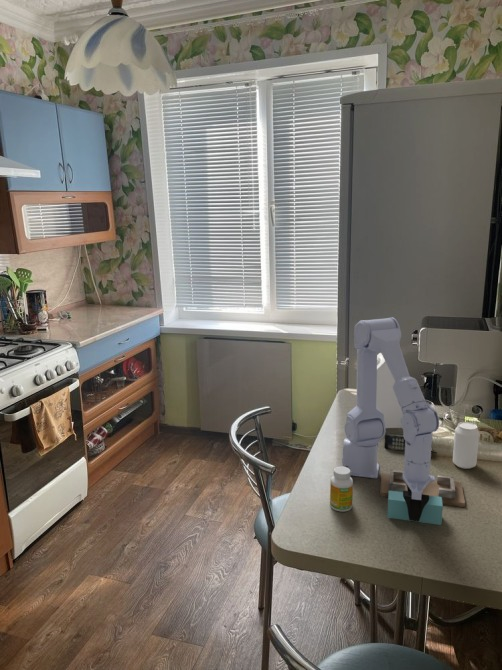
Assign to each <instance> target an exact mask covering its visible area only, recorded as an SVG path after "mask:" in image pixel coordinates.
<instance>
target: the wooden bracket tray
mask: <svg viewBox="0 0 502 670" xmlns="http://www.w3.org/2000/svg"><path fill="white" fill-rule="evenodd" d="M389 471H390V473H387V472H386V473H385V472H382V473H381V479H380V480H381V481H380V491H379V492H380V493H379V496H380V497H386V498H387V497H388V494H389V490H390V491H398V492H403V490H404V491H408V490H407V484H406V482H405V481H404V479H403V477H402V475H403V472H404V470H397V469H396V470H395V469H390V470H389ZM462 485H463V483H462V482H461V481H455V480H454V476H448V475H445V476H444V475H439V474H438V475H437V479H436V478H435V481H434V482H429V483H428V485H427V486H426V487H425V489H424V490H423V491H422V494H423V495H430V496H438V497H442V504H443V505H448V506H455V507H463V508H464V507H466V501H465V496H464V491H463V486H462Z"/></svg>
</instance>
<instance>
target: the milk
mask: <svg viewBox="0 0 502 670" xmlns="http://www.w3.org/2000/svg"><path fill="white" fill-rule="evenodd" d="M394 383H395V379H394V377H393V375H392V373H391V371H390V369H389V367H388V365H387V363H386V361H385V359H384V357H383V355H382V353H379V352H378V353H377V391H376V408H377V409H379V410H380V411H381V412H382V413H383V414H384V422H385V425H386V429H403V428H402V425H401V418H402V416H403V413H402V410H401V408H400V405H399V403H398V400H397V397H396V395H395V392H394V390H393V386H394Z"/></svg>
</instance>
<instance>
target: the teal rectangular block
mask: <svg viewBox="0 0 502 670" xmlns="http://www.w3.org/2000/svg"><path fill="white" fill-rule="evenodd" d="M443 505H444V504H442V497H438V496H430V495H429V501H428V503H427V504H426V505H425V507H424V508H423V511H422V514H421V517H420V520H419V521H416V523H417V522H419V523H424V524H426V523H427V524H432V525H438V526H442V523H443V522H442V520H443V508H444V507H443ZM386 517H387V518H388V519H395V520H396V519H397V520H402V521H403V520H404V521H411V520H409V515H408V508H407V504H406V501H405V500H404V497H403V492H398V491H390V490H389V494H388V498H387V516H386ZM411 522H412V521H411Z"/></svg>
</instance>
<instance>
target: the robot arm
mask: <svg viewBox="0 0 502 670" xmlns="http://www.w3.org/2000/svg"><path fill="white" fill-rule="evenodd" d="M353 327H354V329H353V337H354V338H353V347H354V349H356V405H355V406H354V407H353V408H351V410H350V411H348V412H347V414H346V419H345V420H346V421H345V425H344V433H345V436H346V437H345V438H344V439H343V443H342V444H343V447H342V458H341V459H342V460H341V465H342V466H344V467H347V468H349V469H350V476H354V477H360V478H361V477H362V478H368V479H369V478H370V479H378V477H379V467H380V464H379V463H378V457H379V455H378V453H379V443H381V442H382V439H383V438H385V435H386V432H387V428H386V425H385V422H384V414H383V413H382V412H381V411H380V410H379V409H377V408H376V391H377V355H378V354H379V353H382V355H383V357H384V359H385V361H386V363H387V365H388V367H389V369H390V371H391V373H392V375H393V377H394V379H395V383H394V386H393V390H394V392H395V395H396V397H397V400H398V403H399V405H400V408H401V410H402V413H403V416H402V418H401V425H402V428H401V429H402V432H403V433H402V434H403V436H404V439H405V451H404V459H403V460H404V461H403V471H404V472H403V475H402V477H403V479H404V481H405V482H406V484H407V490H408V491H404V490H403V497H404V500H405V501H406V504H407V508H408V515H409V520H411V522H417V521H419V520H420V517H421V514H422V511H423V508H424V507H425V505H426V504H427V503H428V501H429V495H423V494H422V491H423V490H424V489H425V487H426V486H427V485H428V483H429V482H434V481H435V479H436V477H435V475H432V474H430V472H431V457H432V452H431V447H432V443H433V433H435V432H436V431H438V429H439V427H440V419H439V415H438V412H437V410H436V409H435V408H434V407H432V406H431V404H430V403H429V402H427V401H426V399H425V397H424V394H423V392H422V390H421V387H420V385H419V382H418V380H417V379H416V378H415V377H413V376H410V373H409V369H408V366H407V364H406V359H405V357H404V353H403V351H402V348H401V345H400V342H401V339H402V330H401V326H400V324H399V322H398V320H397V319H396V317H390V316H389V317H387V318H386V317H385V318H376V319H365V320H363V319H361V320H358V322H357V323H356V324H355V325H354V326H353ZM409 520H408V521H409Z"/></svg>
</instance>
